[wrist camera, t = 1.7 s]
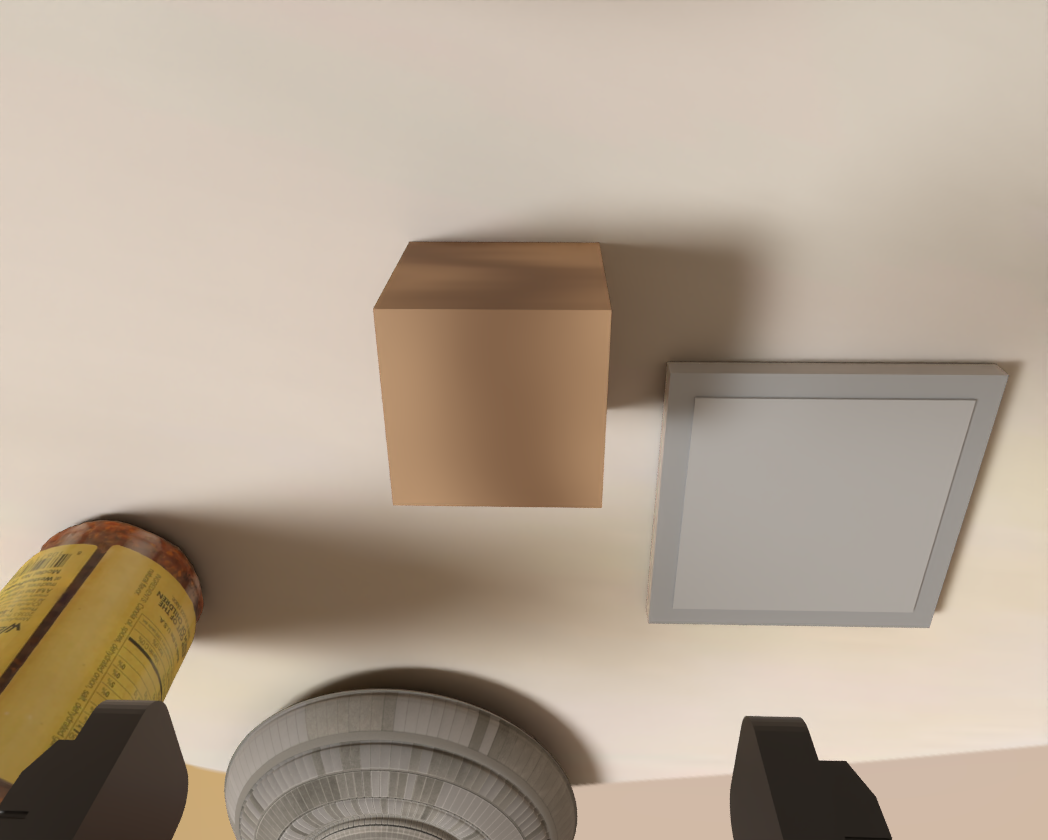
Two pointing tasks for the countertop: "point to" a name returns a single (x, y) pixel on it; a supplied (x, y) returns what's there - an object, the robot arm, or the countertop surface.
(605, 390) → the walnut cube
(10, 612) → the sauce bottle
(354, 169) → the countertop surface
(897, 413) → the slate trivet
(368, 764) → the flying saucer
